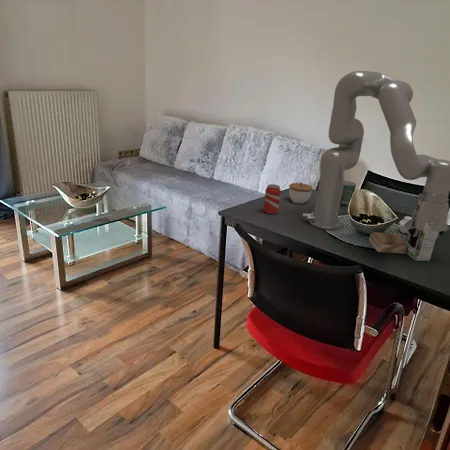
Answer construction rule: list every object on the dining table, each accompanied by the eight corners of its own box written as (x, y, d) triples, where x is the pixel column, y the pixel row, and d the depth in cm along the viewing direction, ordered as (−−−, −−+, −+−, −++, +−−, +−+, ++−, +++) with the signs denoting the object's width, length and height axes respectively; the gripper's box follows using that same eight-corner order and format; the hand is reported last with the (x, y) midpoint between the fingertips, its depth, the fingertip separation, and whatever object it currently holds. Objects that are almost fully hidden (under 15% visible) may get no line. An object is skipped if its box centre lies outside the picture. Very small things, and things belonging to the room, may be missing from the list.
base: (377, 252, 143) (380, 242, 141) (368, 241, 152) (370, 231, 150) (405, 254, 143) (407, 244, 141) (394, 242, 152) (397, 233, 150)
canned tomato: (331, 203, 191) (334, 181, 187) (343, 201, 195) (347, 180, 190) (342, 208, 185) (346, 186, 181) (355, 207, 188) (359, 184, 184)
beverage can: (280, 213, 173) (284, 187, 169) (269, 215, 170) (272, 188, 165) (271, 209, 178) (274, 183, 173) (260, 211, 174) (263, 184, 170)
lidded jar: (313, 205, 187) (316, 186, 183) (292, 205, 184) (295, 186, 181) (304, 198, 196) (307, 179, 193) (284, 198, 194) (286, 179, 190)
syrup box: (406, 253, 143) (416, 215, 137) (421, 253, 143) (432, 216, 138) (414, 261, 137) (425, 222, 132) (430, 261, 138) (441, 222, 132)
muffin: (397, 233, 160) (401, 217, 158) (396, 228, 165) (400, 212, 163) (413, 236, 158) (417, 220, 156) (412, 231, 164) (417, 215, 161)
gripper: (414, 199, 128) (401, 250, 135) (466, 202, 129) (450, 252, 136) (404, 192, 135) (392, 241, 142) (453, 195, 136) (439, 243, 143)
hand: (421, 246), depth 139 cm, fingers closed on syrup box, 5 cm apart
